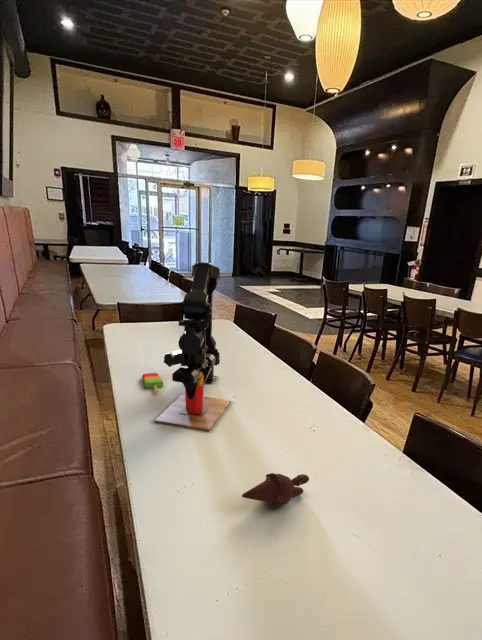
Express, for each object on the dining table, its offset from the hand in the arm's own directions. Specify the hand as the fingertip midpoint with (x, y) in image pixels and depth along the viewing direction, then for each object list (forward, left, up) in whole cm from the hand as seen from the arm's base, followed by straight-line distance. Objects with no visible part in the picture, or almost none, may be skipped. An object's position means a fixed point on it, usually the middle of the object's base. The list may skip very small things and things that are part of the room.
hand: (195, 394), depth 121 cm
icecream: (+35, +31, -6) cm, 47 cm away
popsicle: (-14, -20, -6) cm, 25 cm away
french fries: (0, 0, -5) cm, 5 cm away
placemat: (0, 0, -6) cm, 6 cm away
